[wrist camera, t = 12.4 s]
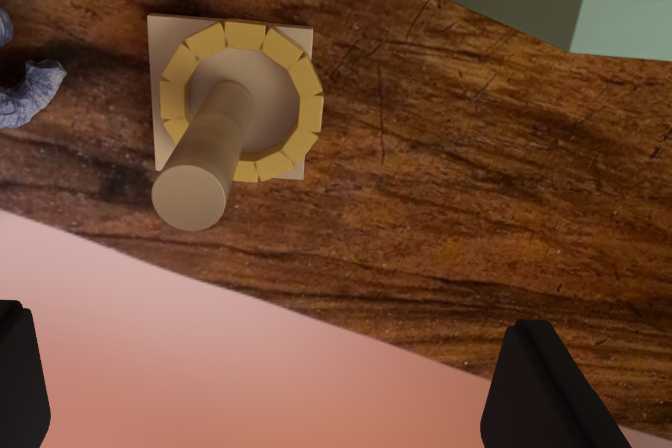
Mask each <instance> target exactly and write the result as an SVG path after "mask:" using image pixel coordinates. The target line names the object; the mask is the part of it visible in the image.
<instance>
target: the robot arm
mask: <svg viewBox="0 0 672 448" xmlns="http://www.w3.org/2000/svg"><path fill="white" fill-rule="evenodd" d="M50 414H51V413H50V406H49V401H48V396H47V391H46V385H45V381H44V375H43V369H42V364H41V360H40V354H39V348H38V343H37V338H36V333H35V328H34V322H33V317H32V313H31V311H30V309H27V308H23V307H22V304H21V303H20V302H19V301H17V300H0V448H39V447H40V445H41V443H42V441H43V439H44V437H45V435H46V433H47V431H48V428H49V425H50V418H51V415H50ZM480 432H481V438H482V441H483V444H484V446H485V448H632V447H631V446H630V444H629V443H628V441H627V440H626V438H625V436H624V435H623V433H622V432H621V430H620V429H619V427H618V425H617V424H616V422H615V421H614V419H613V418H612V416H611V414H610V413H609V411H608V410H607V408H606V407H605V405H604V404H603V402H602V400H601V399H600V397H599V396H598V394H597V393H596V392H595V391H594V390H593V389H592V388H591V386H590V385H589V383H588V382H587V380H586V379H585V377H584V375H583V374H582V372H581V371H580V369H579V368H578V366H577V364H576V363H575V361H574V360H573V358H572V357H571V355H570V353H569V352H568V350H567V349H566V347H565V346H564V344H563V342H562V341H561V339H560V338H559V336H558V335H557V333H556V331H555V330H554V328H553V327H552V325H551V324H550V323H549V322H548V321H546V320H531V319H519V320H517V321H516V323H515V325H514V326H509V327H508V328H507V330H506V332H505V336H504V339H503V343H502V347H501V350H500V354H499V357H498V361H497V365H496V368H495V372H494V375H493V379H492V382H491V386H490V390H489V393H488V397H487V400H486V404H485V408H484V411H483V415H482V419H481V423H480Z"/></svg>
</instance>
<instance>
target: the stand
mask: <svg viewBox="0 0 672 448" xmlns="http://www.w3.org/2000/svg"><path fill="white" fill-rule="evenodd" d="M450 1H452V2H455V3H457V4H459V5H462V6H464V7H466V8H468V9H471V10H473V11H475V12H478V13H480V14H482V15H484V16H487V17H489V18H491V19H494V20H496V21H498V22H500V23H503V24H505V25H507V26H510V27H512V28H514V29H516V30H519V31H521V32H523V33H526V34H528V35H530V36H532V37H535V38H537V39H539V40H542V41H544V42H546V43H548V44H551V45H553V46H555V47H558V48H560V49H562V50H564V51H567V52H569V53H578V54H590V55H602V56H614V57H626V58H638V59H650V60H662V61H672V0H450Z"/></svg>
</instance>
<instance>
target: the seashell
mask: <svg viewBox="0 0 672 448" xmlns="http://www.w3.org/2000/svg"><path fill="white" fill-rule="evenodd" d="M13 30H14V27H13V24H12V22H11V19H10V17H9V15H8V14H7V12H6V10H5V9H4V7H3V6H2V5H1V4H0V47H1V46H4V44H5V43H7V42H9V41H11V39H12V36H13ZM25 65H26V71H25V76H24V78H23V79H22V80H21V82H20V83H19V84H18V85H17V86H15V87H13V88H4V87H0V130H1V129H4V128H17V127H19V126H21V125H23V124H25V123H27V122H29V121H30V119H31V118H32V117H33V116H34V115H35V114H36V113H37V112H39V111H40V110H42V109H43V108H44V107H45V106H46V105H47V104H48V103H49V102H50V100H51V99H52V98H53V97H54V96H55V94H56V92H57V90H58V89H59V85H60V83H61V82H62V80H63V78H64V77H65V76H66V75H67V73H66V71H65V70H64V68H63V67H62V65H61V64H60V63H59V62H58V61H52V60H48V59H46V60H43V61H41V62H34V61H31V60H27V61H26V62H25Z"/></svg>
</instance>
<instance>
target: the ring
mask: <svg viewBox="0 0 672 448" xmlns="http://www.w3.org/2000/svg"><path fill="white" fill-rule="evenodd" d="M227 48H235V49H245V50H255V51H261V52H262V53H264V54H265V55H267V56H268V57H269V58H271V59H272V60H274V61H275V62H276V63H278V64H279V65H281V66H282V67H283V68H285V69H286V70H287V72H288V74H289V76H290V78H291V80H292V82H293V84H294V87H295V89H296V91H297V93H298V95H299V108H298V121H297V122H296V123H295V125H294V126H293V128H292V129H291V130H290V132H289V133H288V135H287V136H286V137H285V139H284V140H283V142H282V143H280V144H278V145H276V146H274V147H271V148H269V149H267V150H265V151H262V152H260V153H258V154H246V153H241V154H240V158H239V161H238V165H237V168H236V171H235V175H234V178H233V181H243V182H258V177H260V179H261V181H262V182H263V181H266V180H268V179H270V178H272V177H275V176H277V175H279V174H282V173H284V172H286V171H289V170H291V169H293V168H294V163H295V164H297V165H298V164H299V163H300V162H301V160H302V159H303V158H304V156H305V155H306V153H307V152H308V151H309V149H310V148H311V147H312V145H313V144H314V143H315V141H316V140H317V139H318V132H320V131H321V122H322V112H323V102H324V94H323V90H322V84H321V81H320V79H319V77H318V75H317V73H316V70H315V68H314V66H313V64H312V62H311V59H310V57H309V55H308V53H307V52H304V53H303V47H302V46H301V45H300V44H298V43H297V42H296V41H294V40H293V39H291V38H290V37H289V36H287V35H286V34H285V33H283V32H282V31H281V30H279V29H278V28H276V27H275V26H274V25H271V26H270V27H269V29H268V30H267V22H262V21H252V20H243V19H233V18H228V19H227V20H226V21H225V23H224V21H223V19H221V20H219V21H217V22H215V23H213V24H211V25H209V26H207V27H205V28H203V29H200V30H198V31H196V32H194V33H192V34H190V35H189V36H187V37H186V38H185V40H183V41H182V42H181V43H180V44H179V46H178V47H177V49H176V51H175V52H174V54H173V56H172V57H171V59H170V61H169V62H168V64H167V66H166V67H165V69H164V71H163V73H162V77H163V78H162V79H161V80H160V81H159V82H160V116H161V118H162V119H165V120H164V122H163V125H164V127H165V129H166V130H167V132H168V134H169V135H170V137H171V139H172V140H173V142H174V144H175V145H177V144H178V142H179V141H180V139H181V137H182V136H183V134H184V132H185V131H186V129H187V127H188V126H189V124H190V122H191V121H192V119H193V117H192V115H191V113H190V112H189V80H190V79H191V77H192V76H193V74H194V72H195V71H196V69H197V67H198V66H199V64H200V63H201V61H202V60H204V59H206V58H208V57H210V56H212V55H214V54H216V53H218V52H221V51H223V50H225V49H227Z"/></svg>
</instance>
